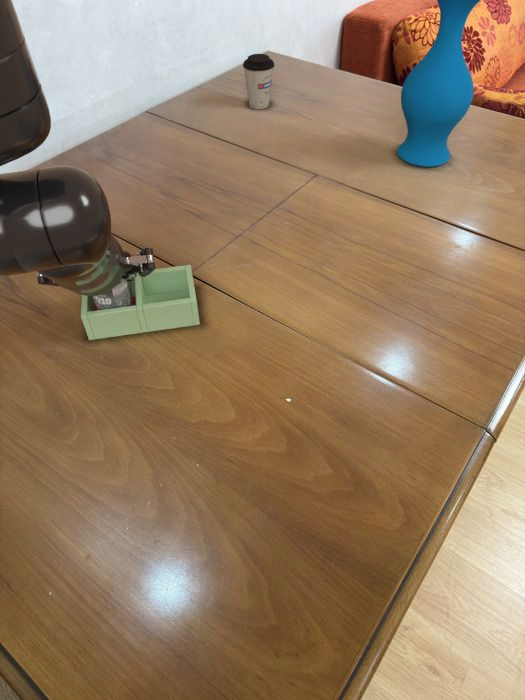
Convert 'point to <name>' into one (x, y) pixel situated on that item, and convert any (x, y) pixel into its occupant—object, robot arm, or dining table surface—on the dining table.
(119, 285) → the pill bottle
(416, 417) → the dining table surface
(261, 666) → the dining table surface
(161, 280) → the holder
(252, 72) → the coffee cup
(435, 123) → the vase
